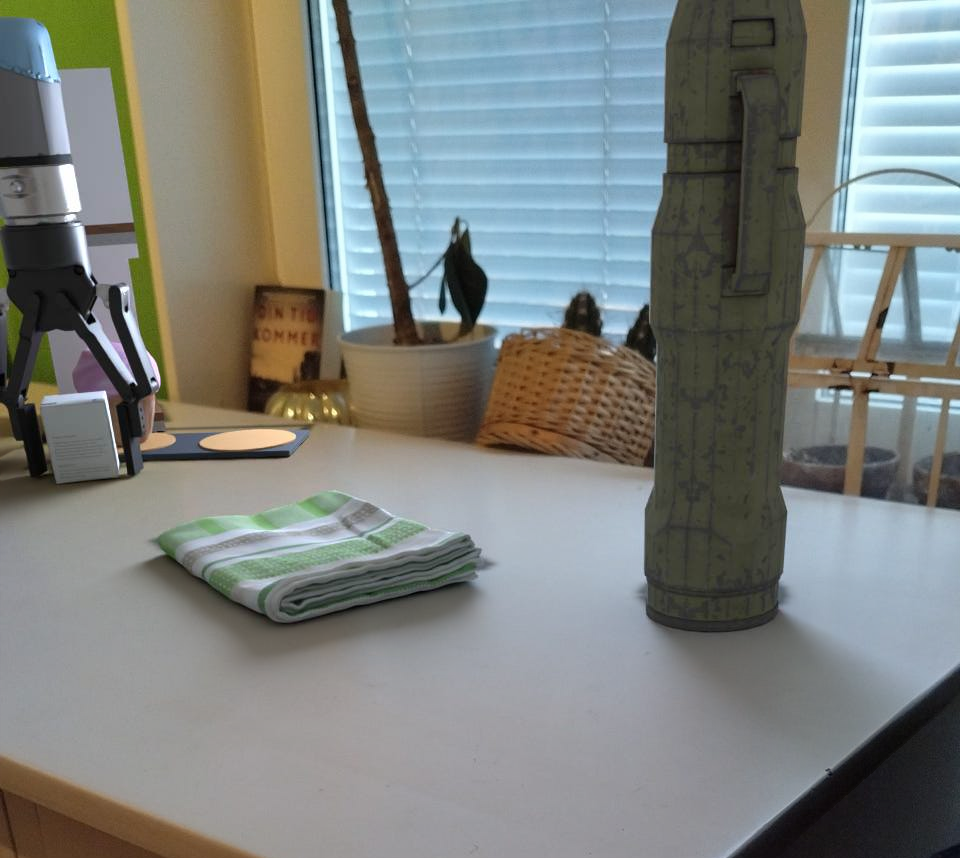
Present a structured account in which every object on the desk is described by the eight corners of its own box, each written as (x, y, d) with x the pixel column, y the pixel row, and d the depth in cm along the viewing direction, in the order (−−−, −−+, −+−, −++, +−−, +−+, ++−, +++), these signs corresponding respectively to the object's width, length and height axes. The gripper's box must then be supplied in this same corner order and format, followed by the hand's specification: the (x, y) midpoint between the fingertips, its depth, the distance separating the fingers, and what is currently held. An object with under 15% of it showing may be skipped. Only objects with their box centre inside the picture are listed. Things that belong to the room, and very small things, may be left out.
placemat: (61, 462, 135) (59, 454, 135) (94, 441, 144) (93, 433, 144) (289, 456, 133) (289, 448, 133) (309, 435, 142) (308, 427, 141)
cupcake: (73, 442, 140) (54, 342, 135) (150, 429, 144) (134, 332, 139) (104, 455, 133) (85, 351, 129) (183, 441, 138) (168, 340, 133)
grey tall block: (166, 431, 147) (109, 67, 130) (68, 441, 145) (-3, 71, 127) (156, 413, 157) (102, 72, 140) (64, 422, 154) (-2, 76, 137)
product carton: (120, 465, 133) (107, 389, 129) (118, 478, 128) (105, 400, 124) (58, 471, 132) (43, 394, 128) (54, 484, 127) (38, 405, 123)
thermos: (681, 647, 81) (703, -37, 64) (618, 591, 91) (622, -13, 74) (814, 629, 82) (870, -42, 65) (737, 576, 93) (768, -17, 76)
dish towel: (271, 632, 87) (264, 580, 85) (151, 555, 104) (144, 510, 102) (491, 580, 94) (488, 531, 92) (345, 516, 112) (341, 474, 110)
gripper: (-95, 228, 116) (-35, 484, 127) (144, 217, 114) (184, 479, 125) (-57, 222, 123) (-4, 466, 134) (169, 212, 121) (205, 461, 132)
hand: (87, 472), depth 130 cm, fingers open, 9 cm apart
